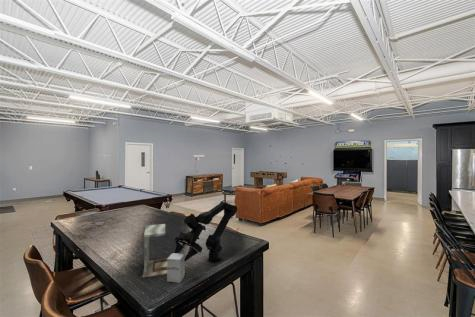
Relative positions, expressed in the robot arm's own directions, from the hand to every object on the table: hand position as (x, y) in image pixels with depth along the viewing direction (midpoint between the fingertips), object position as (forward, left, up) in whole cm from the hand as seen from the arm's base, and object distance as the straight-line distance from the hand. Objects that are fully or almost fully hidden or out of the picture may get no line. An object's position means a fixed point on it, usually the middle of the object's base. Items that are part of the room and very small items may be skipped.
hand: (179, 258), depth 125 cm
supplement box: (+2, 0, -11) cm, 11 cm away
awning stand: (+2, -18, -10) cm, 21 cm away
